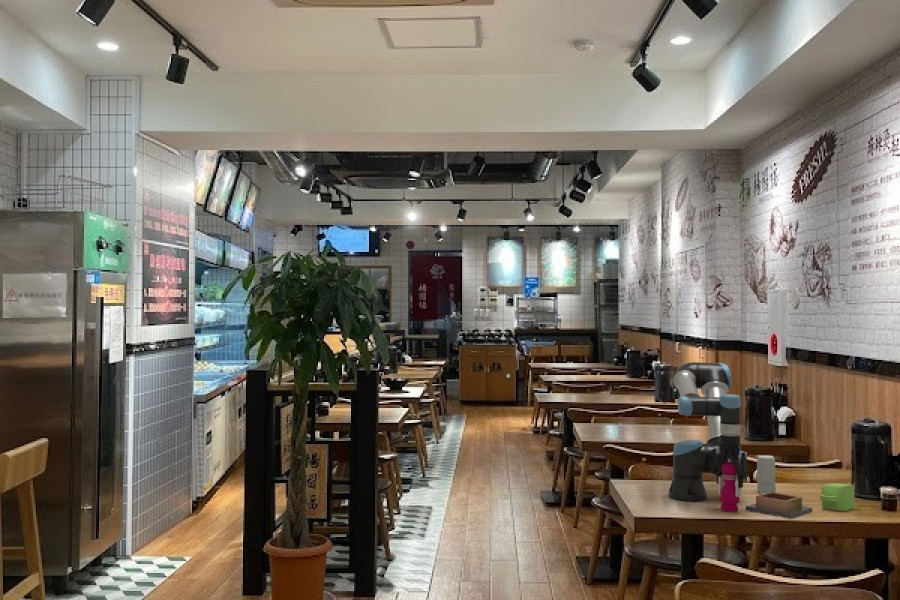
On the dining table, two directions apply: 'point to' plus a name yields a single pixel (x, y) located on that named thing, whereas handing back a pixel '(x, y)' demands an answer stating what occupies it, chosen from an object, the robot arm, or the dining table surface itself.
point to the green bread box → (838, 496)
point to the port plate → (779, 505)
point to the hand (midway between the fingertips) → (729, 494)
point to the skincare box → (766, 474)
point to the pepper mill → (729, 488)
